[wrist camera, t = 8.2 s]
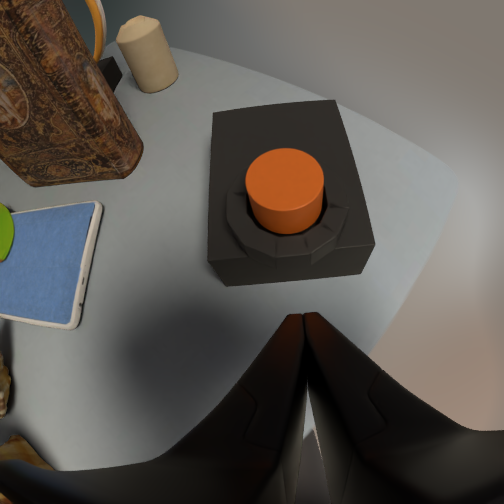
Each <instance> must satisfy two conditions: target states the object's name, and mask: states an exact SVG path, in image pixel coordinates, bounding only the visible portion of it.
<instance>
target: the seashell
mask: <svg viewBox="0 0 504 504" xmlns="http://www.w3.org/2000/svg"><path fill="white" fill-rule="evenodd" d="M3 361H4V359H3V355H2V354H1V351H0V419H2V418H3V417H5V413H6V410H7V406H6V404H7V400H8V396H9V387H10V383H11V377H9V376H8V368H7V367H6V366H4V364H3Z"/></svg>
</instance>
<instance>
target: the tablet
mask: <svg viewBox="0 0 504 504" xmlns="http://www.w3.org/2000/svg"><path fill="white" fill-rule="evenodd" d="M102 210H103V208H102V204H101V203H100V202H98V201H86V202H79V203H72V204H65V205H59V206H53V207H46V208H40V209H34V210H27V211H21V212H15V213H10V214H11V216H12V219H13V224H14V236H13V241H12V244H11V247H10V250H9V252H8V254H7V256H6V258H5V259H4V260H3V261H2V262H0V318H5V319H10V320H14V321H20V322H25V323H29V324H32V325H38V326H46V327H50V328H58V329H64V330H73V329H75V328H76V327H77V325H78V323H79V320H80V316H81V310H82V307H81V305H82V303H83V300H84V295H85V290H86V285H87V280H88V275H89V270H90V266H91V261H92V256H93V251H94V247H95V242H96V238H97V233H98V228H99V224H100V220H101V215H102Z"/></svg>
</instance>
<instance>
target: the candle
mask: <svg viewBox="0 0 504 504" xmlns="http://www.w3.org/2000/svg"><path fill="white" fill-rule="evenodd" d="M116 42H117V44H118V46H119V48H120V50H121V52H122V54H123V56H124V58H125V60H126V62H127V64H128V66H129V68H130V70H131V72H132V74H133V76H134V78H135V80H136V82H137V84H138V86H139V88H140V89H141V91H143V92H145V93H153V92H157V91H160V90H163V89H165V88H167V87H168V86H170V85H171V84H172V83H174V82H175V80H176V79H177V78H178V70H177V67H176V64H175V62H174V59H173V57H172V54H171V51H170V49H169V46H168V44H167V41H166V38H165V36H164V33H163V30H162V28H161V25H160V23H159V21H158V20H156V19H153V18H149V17H145V16H137V17H135V18H133V19H131V20H129V21H128V22H127V23H126V24H125V25H122V26H121V28H120V31H119V33H118V36H117V38H116Z"/></svg>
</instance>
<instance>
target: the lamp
mask: <svg viewBox="0 0 504 504" xmlns="http://www.w3.org/2000/svg"><path fill="white" fill-rule="evenodd" d="M85 1H86V3H87V5H88V7H89V9H90V12H91V14H92V18H93V21H94V26H95V52H94V56H93V58H94V60H95V62H96V64H97V65H98V67H99V69H100V71H101V72H102V74H103V76H104V78H105V79H106V81H107V83H108V85H109V86H110V88H111V90H112V91H113V90H114V89H115V87H116V85H117V83H118V81H119V80H120V78H121V76H122V73H121V71H120V69H119V67H118V65H117V63H116V61H115V59H114V58H113V56H112V57H109V58H106V59H103V60H100V59H101V57H102V55H103V52H104V49H105V42H106V19H105V14H104V11H103V7H102V4H101V1H100V0H85Z"/></svg>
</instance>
